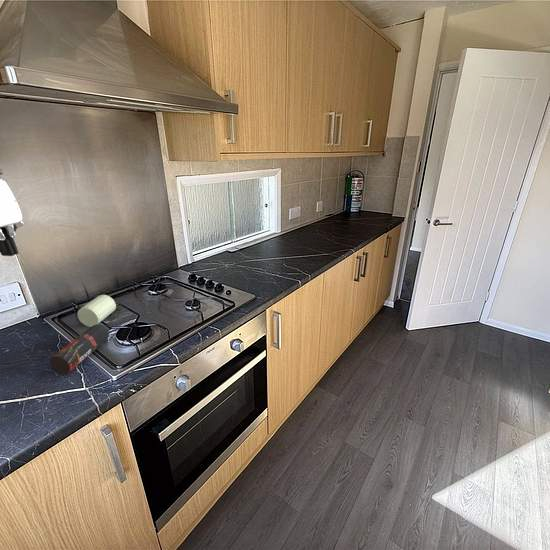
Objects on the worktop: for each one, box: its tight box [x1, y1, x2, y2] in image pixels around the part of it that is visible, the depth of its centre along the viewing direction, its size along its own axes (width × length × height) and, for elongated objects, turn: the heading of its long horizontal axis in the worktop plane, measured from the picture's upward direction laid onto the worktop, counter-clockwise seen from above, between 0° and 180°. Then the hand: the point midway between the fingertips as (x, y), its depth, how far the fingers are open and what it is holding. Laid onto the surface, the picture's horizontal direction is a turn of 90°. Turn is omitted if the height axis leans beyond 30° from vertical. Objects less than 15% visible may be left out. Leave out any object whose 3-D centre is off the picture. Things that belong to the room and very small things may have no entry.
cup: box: [76, 294, 117, 328], centre depth 102 cm, size 7×7×10 cm
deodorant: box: [49, 324, 110, 375], centre depth 84 cm, size 6×6×15 cm
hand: (10, 254), depth 72 cm, fingers closed
